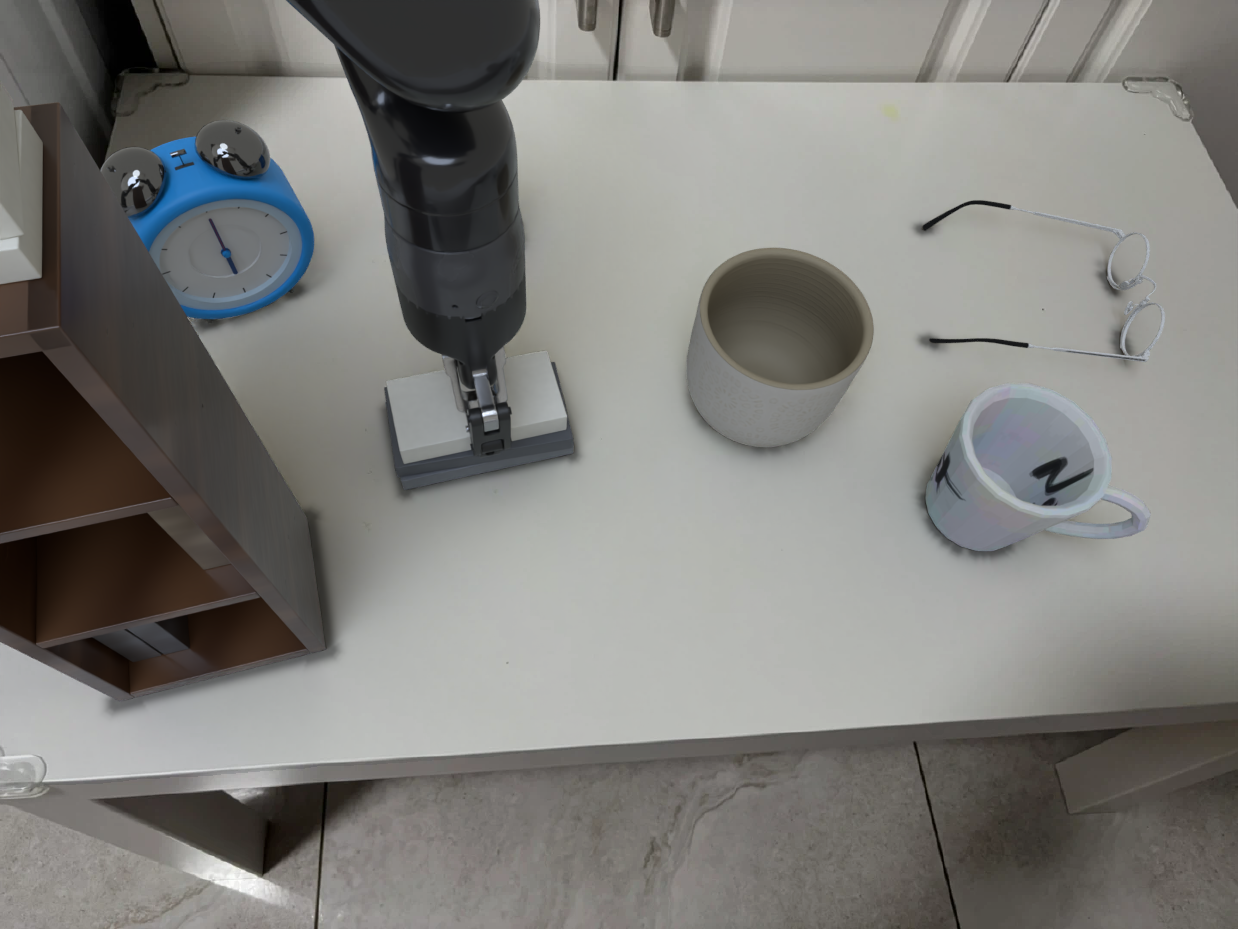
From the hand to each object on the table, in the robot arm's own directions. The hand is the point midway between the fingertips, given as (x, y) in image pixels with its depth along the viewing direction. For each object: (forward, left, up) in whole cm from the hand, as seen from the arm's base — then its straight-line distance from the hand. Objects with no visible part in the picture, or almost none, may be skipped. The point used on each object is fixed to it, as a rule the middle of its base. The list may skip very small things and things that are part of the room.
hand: (478, 411), depth 63 cm
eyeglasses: (+50, +2, -3) cm, 50 cm away
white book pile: (-20, -9, +33) cm, 40 cm away
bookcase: (-20, -9, -3) cm, 22 cm away
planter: (+22, -2, -3) cm, 22 cm away
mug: (+37, -17, -3) cm, 41 cm away
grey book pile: (0, 0, -3) cm, 3 cm away
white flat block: (0, 0, 0) cm, 0 cm away
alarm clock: (-16, +18, -3) cm, 24 cm away
